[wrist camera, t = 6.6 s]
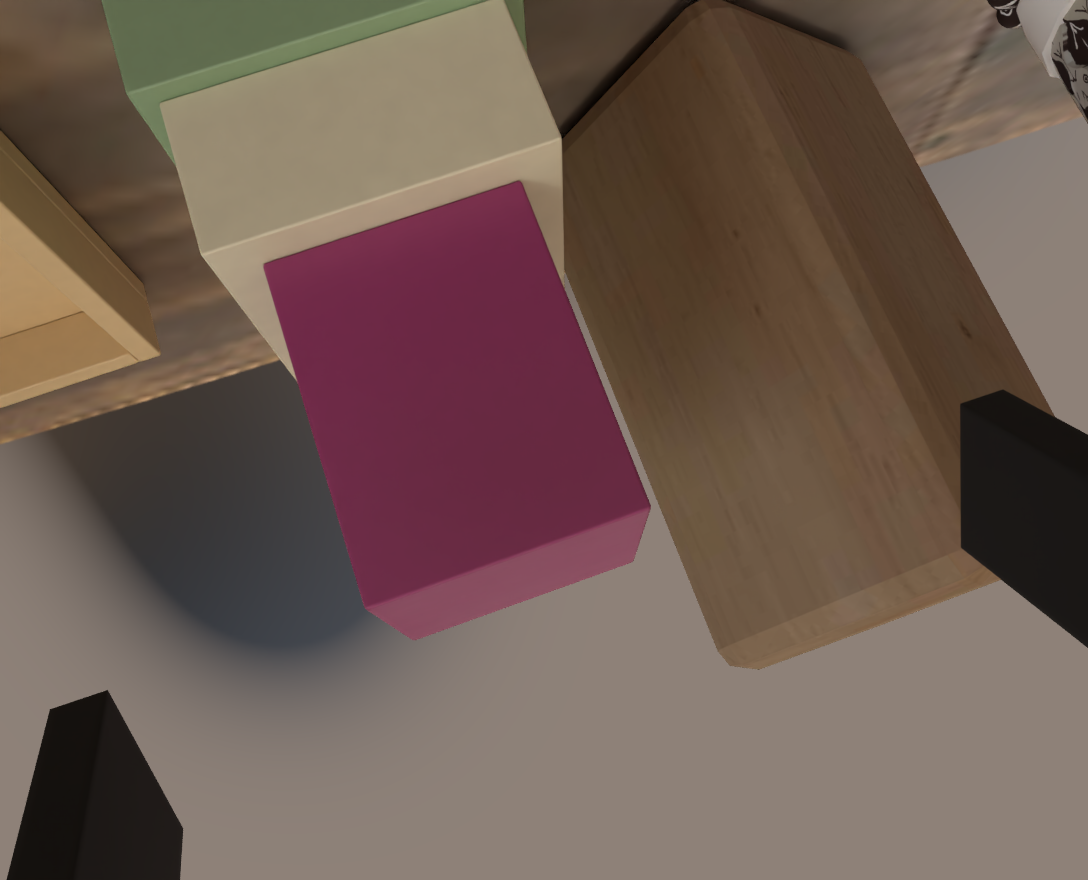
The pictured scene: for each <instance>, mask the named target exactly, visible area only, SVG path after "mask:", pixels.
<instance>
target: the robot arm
mask: <svg viewBox="0 0 1088 880" xmlns="http://www.w3.org/2000/svg"><path fill="white" fill-rule="evenodd" d="M960 489H961V548H962V549H963V550H964V551H966V552H967V553H968V554H969V555H971V556H972V557H973V558H974V559H976V560H977V561H978V562H980V563H981V564H982V565H983V566H985V567H986V568H987V569H988V570H990V571H991V572H992V573H993V574H995V575H996V576H997V577H999V578H1000V579H1001V580H1003V581H1004V582H1005V583H1006V584H1007V585H1009V586H1010V587H1011V588H1013V589H1014V590H1015V591H1016V592H1018V593H1019V594H1020V595H1021V596H1023V597H1024V598H1025V599H1027V600H1028V601H1029V602H1030V603H1032V604H1033V605H1034V606H1036V607H1037V608H1038V609H1039V610H1040V611H1042V612H1043V613H1044V614H1046V615H1047V616H1048V617H1049V618H1051V619H1052V620H1053V621H1054V622H1056V623H1057V624H1058V625H1060V626H1061V627H1062V628H1063V629H1065V630H1066V631H1067V632H1068V633H1070V634H1071V635H1072V636H1073V637H1075V638H1076V639H1077V640H1079V641H1080V642H1081V643H1083V644H1084V645H1085V646H1086V647H1087V648H1088V435H1087V434H1085V433H1083V432H1082V431H1080V430H1078V429H1076V428H1074V427H1072V426H1070V425H1068V424H1067V423H1065V422H1063V421H1061V420H1059V419H1057V418H1056V417H1054V416H1052V415H1050V414H1048V413H1046V412H1044V411H1043V410H1041V409H1039V408H1037V407H1035V406H1033V405H1031V404H1030V403H1028V402H1026V401H1024V400H1022V399H1020V398H1018V397H1017V396H1015V395H1013V394H1011V393H1009V392H1007V391H1005V390H1003V389H1002V390H999V391H996V392H994V393H991V394H988V395H985V396H982V397H979V398H976V399H973V400H970V401H967V402H964V403H961V404H960ZM182 839H183V828H182V826H181V824H180V822H179V820H178V818H177V817H176V815H175V813H174V811H173V809H172V807H171V806H170V804H169V802H168V800H167V798H166V797H165V795H164V793H163V791H162V789H161V787H160V785H159V783H158V782H157V780H156V778H155V776H154V774H153V772H152V771H151V769H150V767H149V765H148V763H147V761H146V760H145V758H144V756H143V754H142V752H141V750H140V749H139V747H138V745H137V743H136V741H135V739H134V737H133V736H132V734H131V732H130V730H129V729H128V726H127V725H126V723H125V721H124V720H123V717H122V716H121V714H120V712H119V710H118V708H117V706H116V705H115V703H114V701H113V699H112V697H111V695H110V693H109V692H108V690H106V691H104V692H101V693H97V694H95V695H92V696H89V697H86V698H83V699H80V700H77V701H74V702H71V703H68V704H65V705H62V706H59V707H56V708H53V709H50V712H49V715H48V719H47V723H46V727H45V731H44V735H43V739H42V743H41V747H40V751H39V755H38V759H37V763H36V766H35V771H34V775H33V778H32V782H31V786H30V790H29V794H28V798H27V802H26V806H25V810H24V814H23V817H22V821H21V825H20V829H19V833H18V837H17V841H16V845H15V849H14V853H13V857H12V861H11V865H10V869H9V872H8V876H7V880H180V871H181V854H182Z"/></svg>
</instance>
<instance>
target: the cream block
mask: <svg viewBox="0 0 1088 880" xmlns="http://www.w3.org/2000/svg"><path fill="white" fill-rule="evenodd" d="M160 109H161V113H162V117H163V120H164V124H165V127H166V131H167V135H168V138H169V142H170V145H171V149H172V153H173V156H174V160H175V163H176V167H177V171H178V174H179V178H180V181H181V185H182V189H183V192H184V196H185V199H186V203H187V207H188V210H189V214H190V217H191V221H192V225H193V228H194V232H195V235H196V239H197V243H198V246H199V250H200V253H201V255H202V257H203V258H204V259H205V261H206V262H207V263H208V265H209V266H210V267H211V269H212V270H213V271H214V273H215V274H216V275H217V277H218V278H219V279H220V281H221V282H222V283H223V285H224V286H225V287H226V288H227V290H228V291H229V292H230V294H231V295H232V296H233V298H234V299H235V300H236V302H237V303H238V304H239V306H240V307H241V308H242V310H243V311H244V312H245V314H246V315H247V316H248V318H249V319H250V320H251V321H252V323H253V324H254V325H255V327H256V328H257V329H258V331H259V332H260V333H261V335H262V336H263V337H264V339H265V340H266V341H267V343H268V344H269V345H270V347H271V348H272V349H273V350H274V352H275V353H276V354H277V356H278V357H279V358H280V360H281V361H282V362H283V364H284V365H285V366H286V368H287V369H288V370H289V372H290V373H291V374H292V375H293V377H294V378H295V379H296V376H295V373H294V369H293V366H292V362H291V359H290V356H289V352H288V349H287V346H286V342H285V339H284V336H283V332H282V329H281V326H280V322H279V319H278V315H277V312H276V309H275V305H274V302H273V299H272V295H271V292H270V289H269V285H268V282H267V279H266V275H265V272H264V268H263V267H264V264H265V263H268V262H271V261H274V260H277V259H280V258H283V257H287V256H290V255H293V254H296V253H299V252H302V251H305V250H308V249H311V248H314V247H317V246H320V245H323V244H326V243H330V242H333V241H336V240H339V239H342V238H345V237H348V236H351V235H354V234H357V233H360V232H363V231H366V230H369V229H372V228H376V227H379V226H382V225H385V224H388V223H391V222H394V221H397V220H400V219H403V218H406V217H409V216H412V215H415V214H418V213H422V212H425V211H428V210H431V209H434V208H437V207H440V206H443V205H446V204H449V203H452V202H455V201H458V200H461V199H464V198H468V197H471V196H474V195H477V194H480V193H483V192H486V191H489V190H492V189H495V188H498V187H501V186H504V185H507V184H510V183H514V182H517V181H521V183H522V184H523V186H524V189H525V191H526V194H527V196H528V199H529V201H530V204H531V206H532V209H533V211H534V214H535V216H536V219H537V221H538V224H539V226H540V229H541V231H542V234H543V236H544V239H545V241H546V244H547V246H548V249H549V251H550V254H551V257H552V259H553V262H554V264H555V267H556V269H557V272H558V274H559V277H560V279H561V282H562V284H563V287H564V286H565V284H564V229H563V174H562V137H561V134H560V132H559V130H558V127H557V125H556V123H555V120H554V118H553V115H552V113H551V111H550V108H549V106H548V103H547V101H546V99H545V96H544V94H543V92H542V89H541V87H540V84H539V82H538V80H537V77H536V75H535V72H534V70H533V68H532V65H531V63H530V60H529V58H528V56H527V53H526V51H525V49H524V46H523V44H522V41H521V39H520V37H519V34H518V32H517V29H516V27H515V25H514V22H513V20H512V18H511V15H510V13H509V10H508V8H507V6H506V3H505V1H504V0H488V1H485V2H481V3H478V4H475V5H472V6H469V7H465V8H462V9H459V10H456V11H453V12H449V13H446V14H443V15H440V16H436V17H433V18H430V19H427V20H424V21H420V22H417V23H414V24H411V25H408V26H404V27H401V28H398V29H395V30H391V31H388V32H385V33H382V34H379V35H375V36H372V37H369V38H366V39H363V40H359V41H356V42H353V43H350V44H346V45H343V46H340V47H337V48H334V49H330V50H327V51H324V52H321V53H318V54H314V55H311V56H308V57H305V58H301V59H298V60H295V61H292V62H289V63H285V64H282V65H279V66H276V67H273V68H269V69H266V70H263V71H260V72H256V73H253V74H250V75H247V76H244V77H240V78H237V79H234V80H231V81H228V82H224V83H221V84H218V85H215V86H211V87H208V88H205V89H202V90H199V91H195V92H192V93H189V94H186V95H183V96H179V97H176V98H173V99H170V100H166V101H163V102H161V103H160ZM564 289H565V287H564ZM296 381H297V379H296Z"/></svg>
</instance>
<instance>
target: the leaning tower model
mask: <svg viewBox="0 0 1088 880" xmlns="http://www.w3.org/2000/svg"><path fill="white" fill-rule="evenodd" d="M987 1H988V3H989V4H990V5H991V7H993V8H995V9H996V10H997V19H998V22H999V23H1000V24H1001V25H1002V26H1004V27H1006V28H1011V29H1012V28H1020V27H1022V28H1023V31H1024V34H1025V36H1026V38H1027V40H1028V41H1029V43H1030V45H1031V46H1032V48H1033V50H1034V51H1035V53H1036V55H1037V56H1038V58H1039V59H1040V61H1041V63H1042V64H1043V66H1044V68H1045V69H1046V71H1047V73H1048V74H1049V76H1051V77H1055V78H1060V79H1061V80H1062V82H1063V84H1064V85H1065V87H1066V89H1067V90H1068V92H1069V94H1070V95H1071V97H1072V98H1073V100H1074V102H1075V103H1076V105H1077V107H1078V108H1079V110H1080V112H1081V113H1082V115H1083V117H1084V118H1085V120H1086V121H1087V123H1088V0H987Z"/></svg>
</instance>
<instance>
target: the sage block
mask: <svg viewBox="0 0 1088 880" xmlns="http://www.w3.org/2000/svg"><path fill="white" fill-rule="evenodd" d="M101 1H102V5H103V8H104V12H105V16H106V20H107V23H108V27H109V31H110V35H111V38H112V42H113V46H114V50H115V53H116V57H117V61H118V65H119V68H120V72H121V76H122V80H123V83H124V87H125V91H126V94H127V96H128V97H129V98H130V100H131V101H132V103H133V104H134V106H135V107H136V109H137V110H138V112H139V113H140V115H141V116H142V117H143V119H144V120H145V122H146V123H147V125H148V126H149V128H150V129H151V131H152V132H153V134H154V135H155V136H156V138H157V139H158V141H159V142H160V144H161V145H162V147H163V148H164V150H165V151H166V152H167V154H168V155H169V157H170V158H171V160H172V161H173V163H174V164H175V166H176V163H175V160H174V156H173V153H172V149H171V145H170V142H169V138H168V135H167V131H166V127H165V124H164V120H163V117H162V113H161V109H160V103H161V102H163V101H166V100H170V99H173V98H176V97H179V96H183V95H186V94H189V93H192V92H195V91H199V90H202V89H205V88H208V87H211V86H215V85H218V84H221V83H224V82H228V81H231V80H234V79H237V78H240V77H244V76H247V75H250V74H253V73H256V72H260V71H263V70H266V69H269V68H273V67H276V66H279V65H282V64H285V63H289V62H292V61H295V60H298V59H301V58H305V57H308V56H311V55H314V54H318V53H321V52H324V51H327V50H330V49H334V48H337V47H340V46H343V45H346V44H350V43H353V42H356V41H359V40H363V39H366V38H369V37H372V36H375V35H379V34H382V33H385V32H388V31H391V30H395V29H398V28H401V27H404V26H408V25H411V24H414V23H417V22H420V21H424V20H427V19H430V18H433V17H436V16H440V15H443V14H446V13H449V12H453V11H456V10H459V9H462V8H465V7H469V6H472V5H475V4H478V3H481V2H485V1H488V0H101ZM504 1H505V3H506V6H507V8H508V10H509V13H510V15H511V18H512V20H513V22H514V25H515V27H516V29H517V32H518V34H519V37H520V39H521V41H522V44H523V46H524V49H525V51H526V53H527V45H526V30H525V15H524V0H504Z"/></svg>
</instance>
